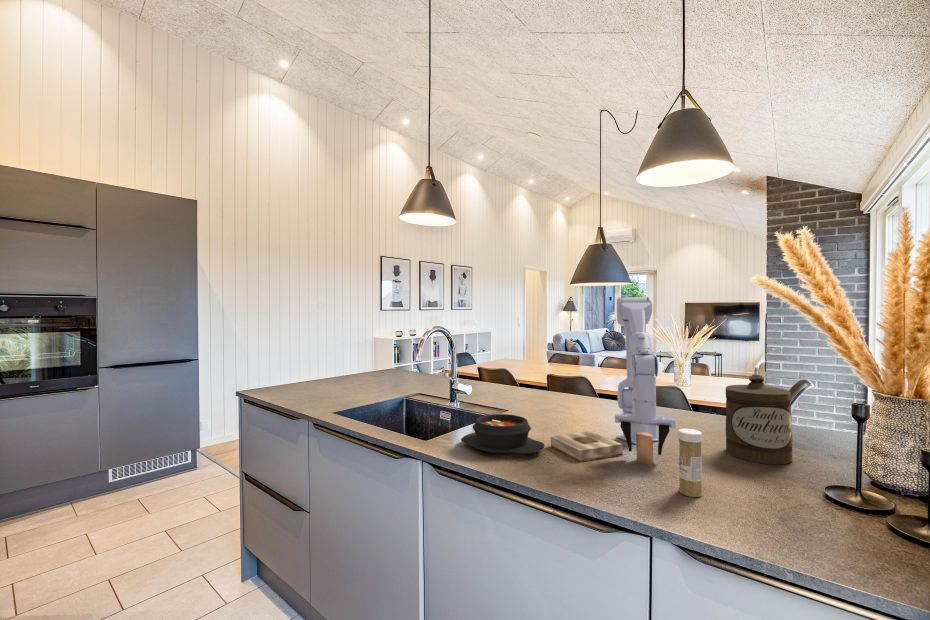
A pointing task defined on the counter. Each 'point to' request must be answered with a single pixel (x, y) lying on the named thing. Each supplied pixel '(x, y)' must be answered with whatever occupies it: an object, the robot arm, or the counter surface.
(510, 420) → the casserole
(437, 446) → the counter surface
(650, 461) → the terracotta peg
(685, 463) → the sprinkles bottle
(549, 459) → the counter surface
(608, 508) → the counter surface
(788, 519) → the counter surface
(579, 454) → the oak socket block
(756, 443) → the wooden container
